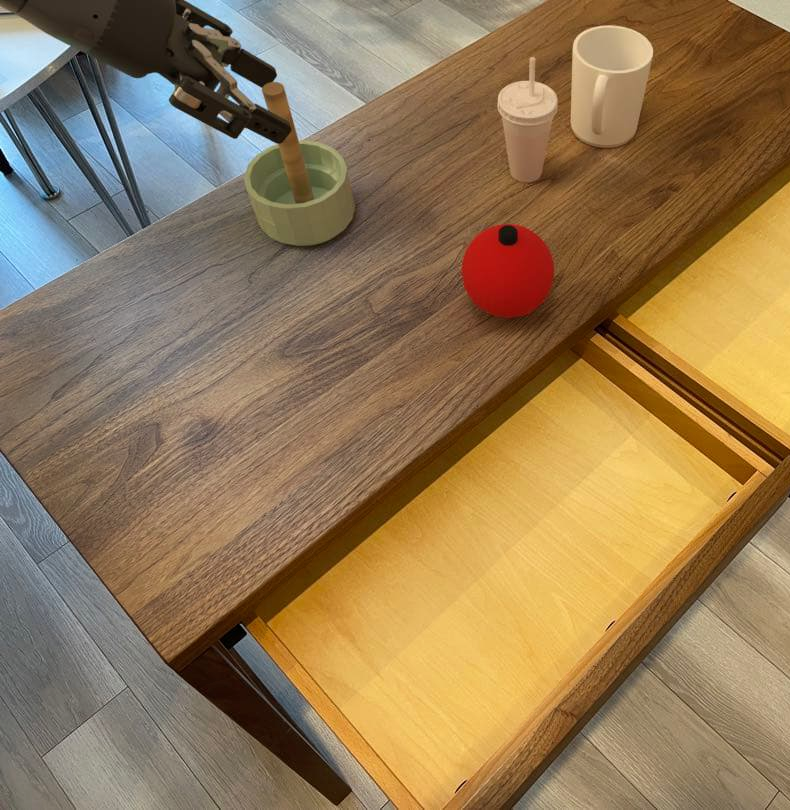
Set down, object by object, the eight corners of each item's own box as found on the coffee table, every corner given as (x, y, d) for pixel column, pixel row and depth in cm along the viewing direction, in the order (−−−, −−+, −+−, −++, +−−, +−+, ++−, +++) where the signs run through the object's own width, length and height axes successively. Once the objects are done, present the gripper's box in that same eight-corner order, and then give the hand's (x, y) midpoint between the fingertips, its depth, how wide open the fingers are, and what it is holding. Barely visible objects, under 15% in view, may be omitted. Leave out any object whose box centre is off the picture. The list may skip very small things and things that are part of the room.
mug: (576, 97, 98) (583, 19, 89) (646, 112, 97) (660, 34, 88) (553, 153, 92) (559, 74, 83) (627, 169, 91) (640, 91, 82)
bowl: (267, 260, 81) (252, 217, 76) (253, 194, 86) (237, 150, 81) (364, 239, 83) (355, 196, 78) (345, 176, 89) (335, 132, 83)
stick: (318, 215, 84) (285, 92, 71) (300, 219, 83) (263, 96, 71) (315, 202, 85) (282, 80, 72) (296, 206, 84) (260, 83, 72)
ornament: (566, 287, 81) (573, 215, 72) (527, 349, 76) (530, 280, 68) (489, 257, 83) (487, 183, 74) (447, 316, 78) (440, 244, 70)
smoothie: (565, 171, 90) (573, 61, 78) (526, 198, 88) (530, 89, 76) (524, 145, 92) (527, 34, 81) (486, 171, 90) (483, 60, 78)
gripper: (123, 16, 56) (315, 123, 68) (113, -80, 63) (288, 33, 75) (77, 94, 59) (269, 183, 71) (73, -6, 66) (247, 91, 78)
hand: (279, 106), depth 73 cm, fingers open, 8 cm apart
